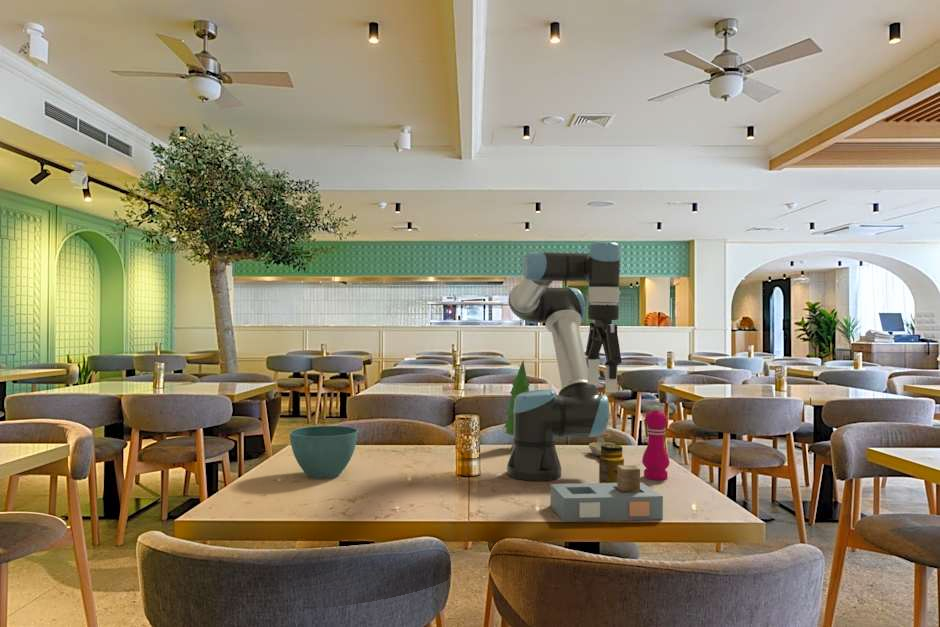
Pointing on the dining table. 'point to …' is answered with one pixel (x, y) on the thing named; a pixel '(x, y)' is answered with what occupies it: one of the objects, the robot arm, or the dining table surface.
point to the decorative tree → (518, 387)
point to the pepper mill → (655, 446)
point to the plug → (628, 479)
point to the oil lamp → (599, 443)
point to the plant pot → (323, 449)
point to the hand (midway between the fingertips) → (601, 388)
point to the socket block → (604, 502)
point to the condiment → (610, 462)
